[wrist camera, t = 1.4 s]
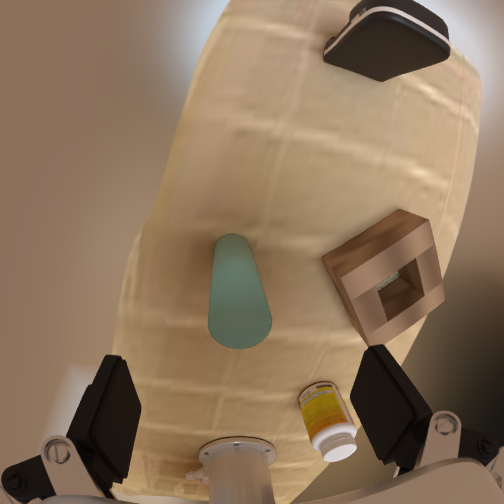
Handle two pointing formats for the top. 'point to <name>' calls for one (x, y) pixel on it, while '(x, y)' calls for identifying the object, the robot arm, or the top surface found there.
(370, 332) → the socket block
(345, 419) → the supplement bottle
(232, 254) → the dowel
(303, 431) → the top surface
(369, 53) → the battery charger
